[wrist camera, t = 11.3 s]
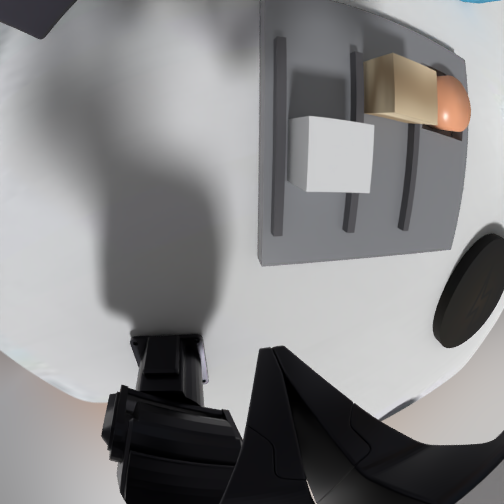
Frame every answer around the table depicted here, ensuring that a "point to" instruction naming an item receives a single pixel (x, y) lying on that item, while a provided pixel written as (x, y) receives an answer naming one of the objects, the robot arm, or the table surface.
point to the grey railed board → (352, 109)
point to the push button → (452, 105)
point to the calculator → (33, 14)
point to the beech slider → (400, 90)
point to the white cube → (330, 154)
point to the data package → (479, 1)
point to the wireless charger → (471, 292)
